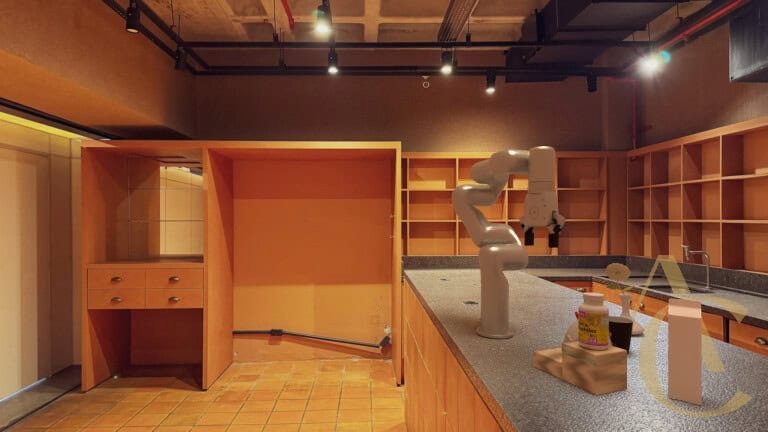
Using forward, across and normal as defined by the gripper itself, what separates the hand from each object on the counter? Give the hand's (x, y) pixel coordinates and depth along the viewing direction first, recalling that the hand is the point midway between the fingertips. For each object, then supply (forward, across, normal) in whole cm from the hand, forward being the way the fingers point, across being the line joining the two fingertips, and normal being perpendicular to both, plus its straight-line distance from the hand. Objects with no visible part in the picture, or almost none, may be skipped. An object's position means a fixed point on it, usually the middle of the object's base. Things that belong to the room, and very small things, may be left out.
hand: (540, 246), depth 120 cm
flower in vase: (+32, -10, +48) cm, 59 cm away
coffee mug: (+32, +4, +26) cm, 42 cm away
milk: (+32, +34, +10) cm, 48 cm away
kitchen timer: (+32, +6, +12) cm, 35 cm away
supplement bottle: (+23, +21, -3) cm, 32 cm away
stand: (+32, +16, -3) cm, 36 cm away
